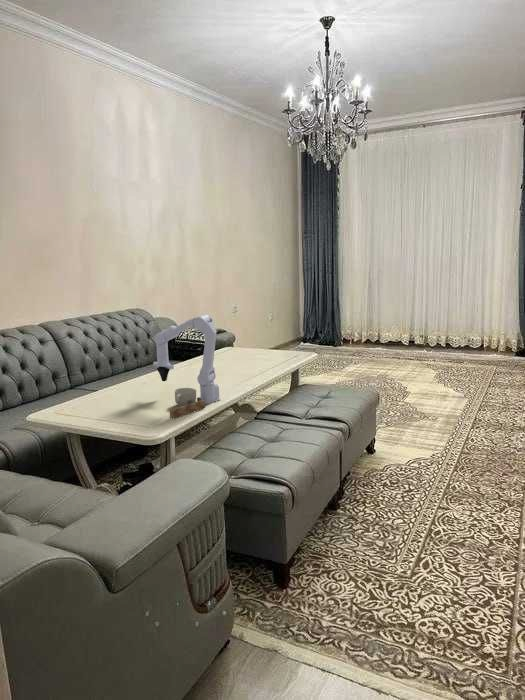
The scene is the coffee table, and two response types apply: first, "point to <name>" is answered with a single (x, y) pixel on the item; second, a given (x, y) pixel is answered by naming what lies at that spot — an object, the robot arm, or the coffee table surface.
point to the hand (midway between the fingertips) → (164, 380)
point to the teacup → (185, 396)
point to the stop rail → (187, 408)
